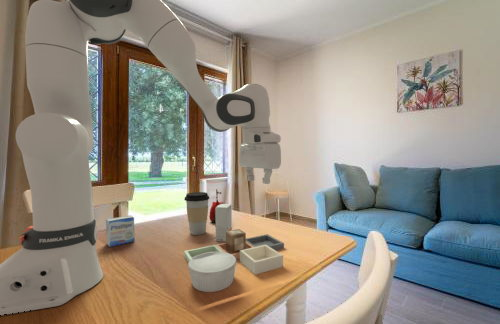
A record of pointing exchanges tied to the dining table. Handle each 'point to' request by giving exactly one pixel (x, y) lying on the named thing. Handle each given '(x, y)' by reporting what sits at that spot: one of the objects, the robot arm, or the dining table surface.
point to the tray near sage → (200, 251)
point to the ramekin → (212, 271)
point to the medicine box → (120, 230)
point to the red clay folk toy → (212, 210)
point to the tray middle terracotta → (236, 255)
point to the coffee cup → (197, 211)
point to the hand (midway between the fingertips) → (258, 182)
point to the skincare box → (223, 221)
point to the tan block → (235, 241)
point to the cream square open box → (261, 259)
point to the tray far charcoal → (265, 241)
